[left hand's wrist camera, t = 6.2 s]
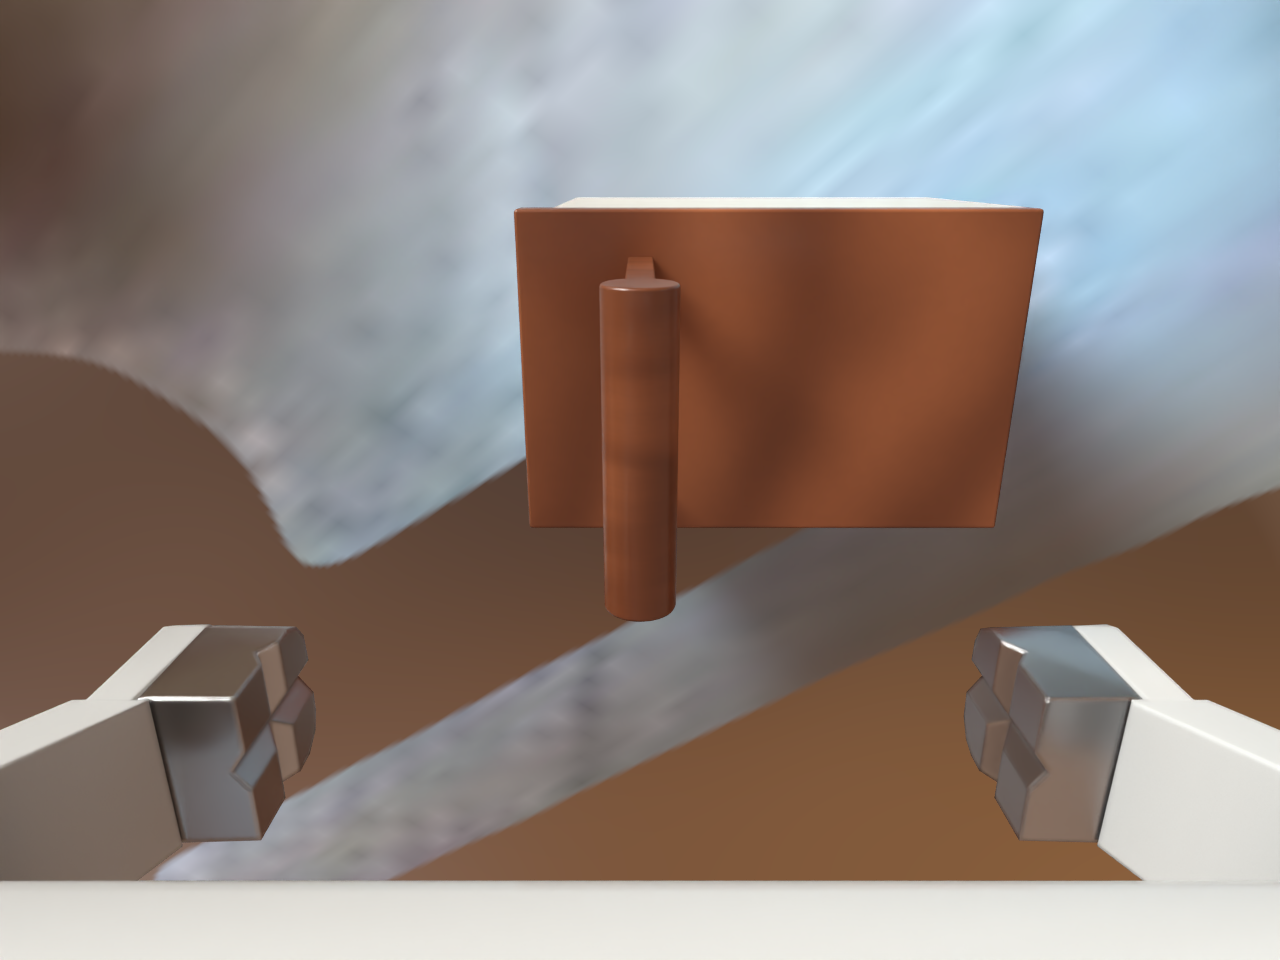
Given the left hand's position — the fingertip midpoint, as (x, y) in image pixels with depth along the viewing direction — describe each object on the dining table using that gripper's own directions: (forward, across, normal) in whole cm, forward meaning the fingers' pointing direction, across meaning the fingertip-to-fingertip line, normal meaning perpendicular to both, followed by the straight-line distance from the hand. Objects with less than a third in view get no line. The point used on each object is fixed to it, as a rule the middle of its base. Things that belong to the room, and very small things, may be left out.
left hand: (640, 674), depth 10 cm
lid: (+17, +4, 0) cm, 17 cm away
